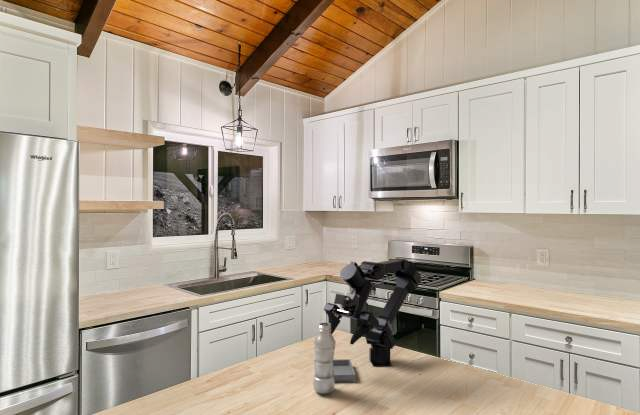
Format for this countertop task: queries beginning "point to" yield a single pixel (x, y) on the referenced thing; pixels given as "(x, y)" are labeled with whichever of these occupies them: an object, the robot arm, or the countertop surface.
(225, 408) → the countertop surface
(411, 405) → the countertop surface
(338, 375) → the gray tray
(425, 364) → the countertop surface
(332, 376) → the plastic bottle
